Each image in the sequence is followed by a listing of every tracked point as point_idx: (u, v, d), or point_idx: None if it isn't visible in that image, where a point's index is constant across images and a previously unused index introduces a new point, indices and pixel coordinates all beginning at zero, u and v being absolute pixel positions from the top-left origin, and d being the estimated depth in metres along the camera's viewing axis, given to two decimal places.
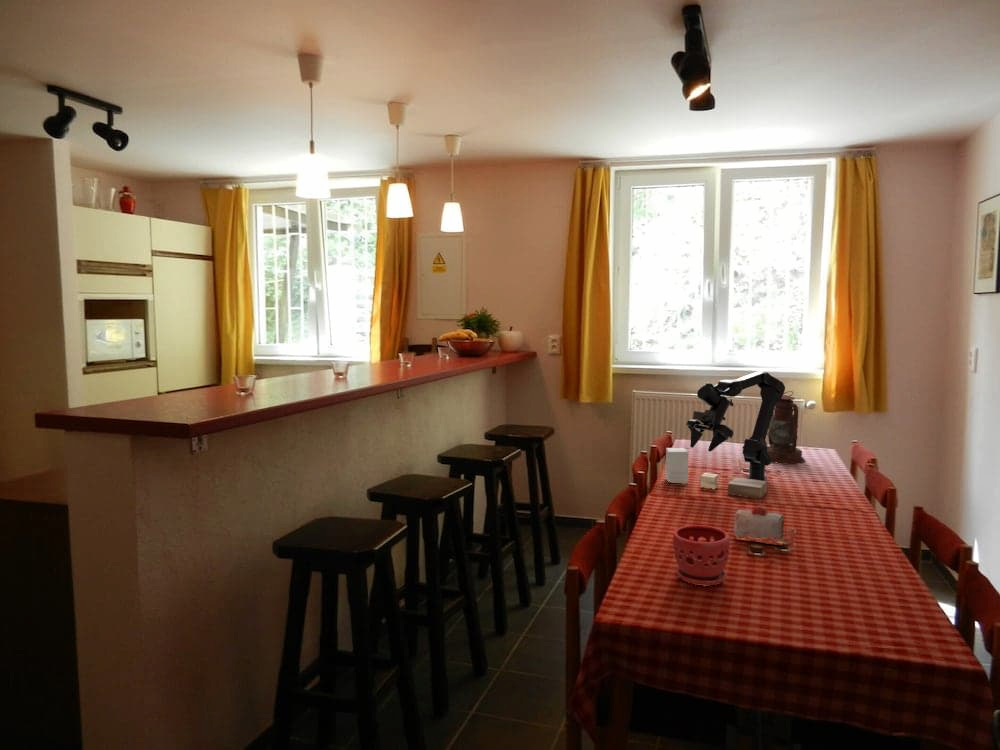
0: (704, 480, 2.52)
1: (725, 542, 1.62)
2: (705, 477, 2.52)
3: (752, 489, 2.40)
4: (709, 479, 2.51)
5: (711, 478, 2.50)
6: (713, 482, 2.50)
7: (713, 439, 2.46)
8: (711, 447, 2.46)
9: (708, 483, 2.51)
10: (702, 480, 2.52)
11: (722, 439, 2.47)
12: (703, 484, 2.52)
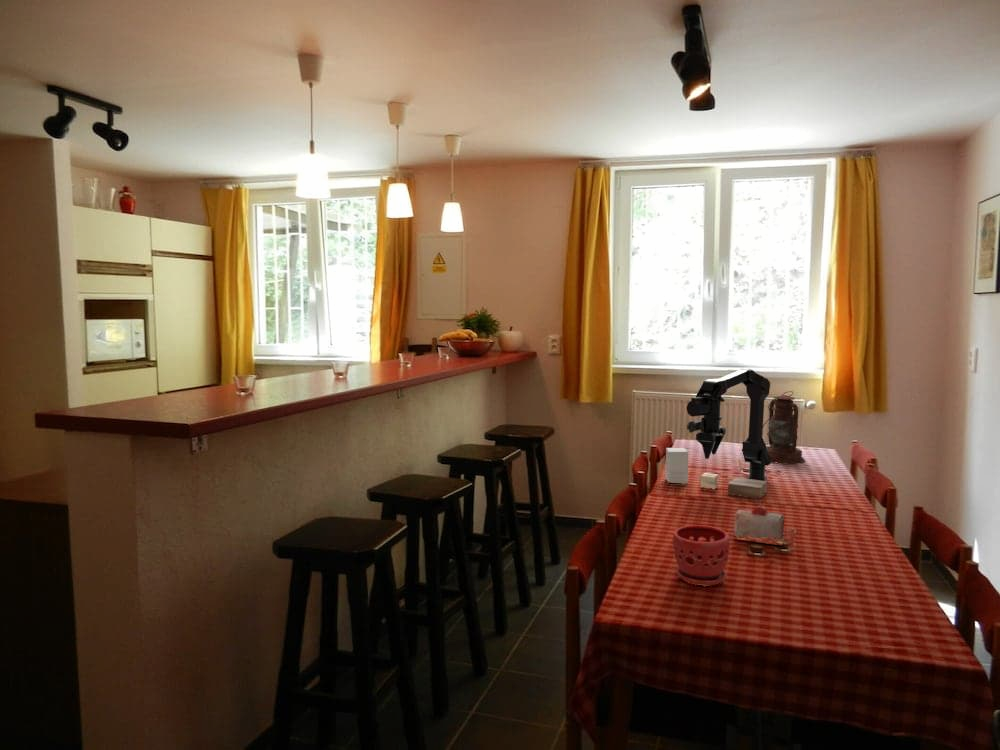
0: (704, 480, 2.52)
1: (725, 542, 1.62)
2: (705, 477, 2.52)
3: (752, 489, 2.40)
4: (709, 479, 2.51)
5: (711, 478, 2.50)
6: (713, 482, 2.50)
7: None
8: (705, 454, 2.48)
9: (708, 483, 2.51)
10: (702, 480, 2.52)
11: (710, 444, 2.46)
12: (703, 484, 2.52)
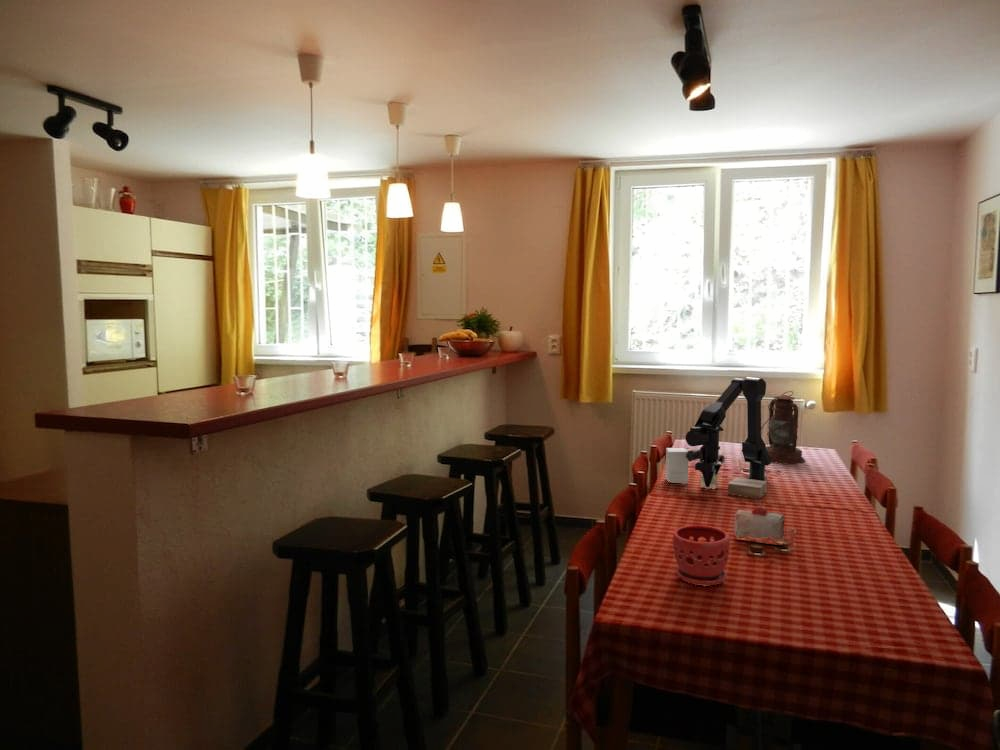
0: None
1: (725, 542, 1.62)
2: None
3: (752, 489, 2.40)
4: None
5: None
6: (713, 482, 2.50)
7: None
8: (706, 483, 2.51)
9: None
10: (702, 480, 2.52)
11: (711, 472, 2.48)
12: (703, 484, 2.52)
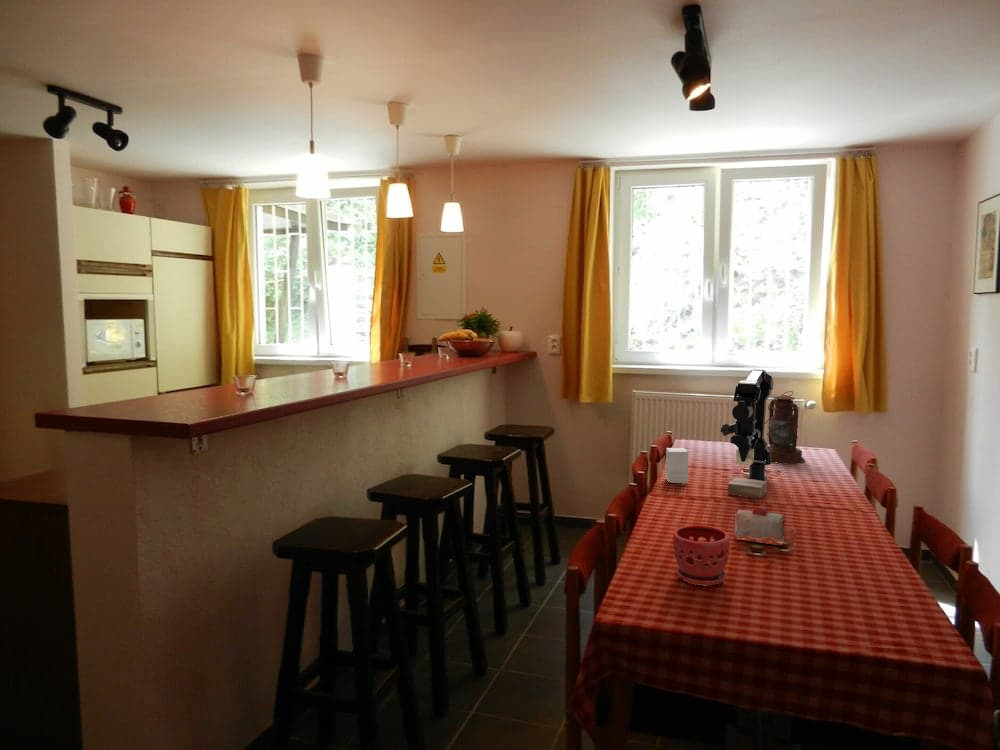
0: None
1: (725, 542, 1.62)
2: None
3: (752, 489, 2.40)
4: None
5: None
6: (749, 456, 2.43)
7: None
8: (741, 457, 2.43)
9: None
10: (737, 454, 2.45)
11: (747, 446, 2.41)
12: (738, 458, 2.45)
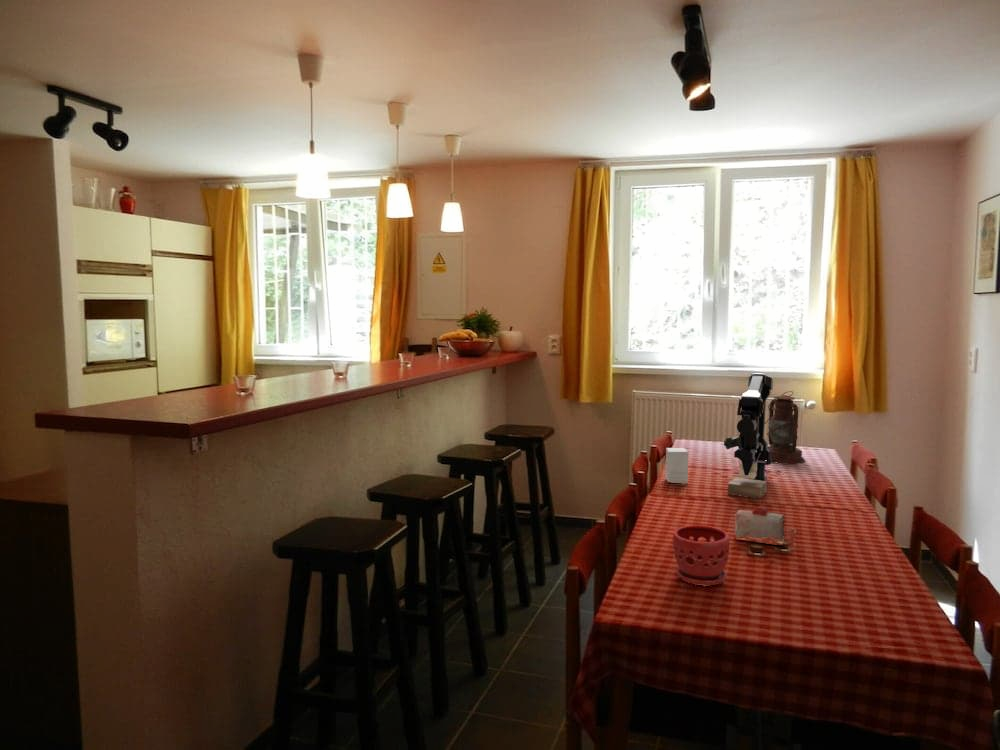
0: None
1: (725, 542, 1.62)
2: None
3: (752, 489, 2.40)
4: None
5: None
6: (752, 470, 2.43)
7: (742, 463, 2.43)
8: (745, 471, 2.43)
9: None
10: (741, 468, 2.45)
11: (750, 460, 2.41)
12: (742, 472, 2.45)
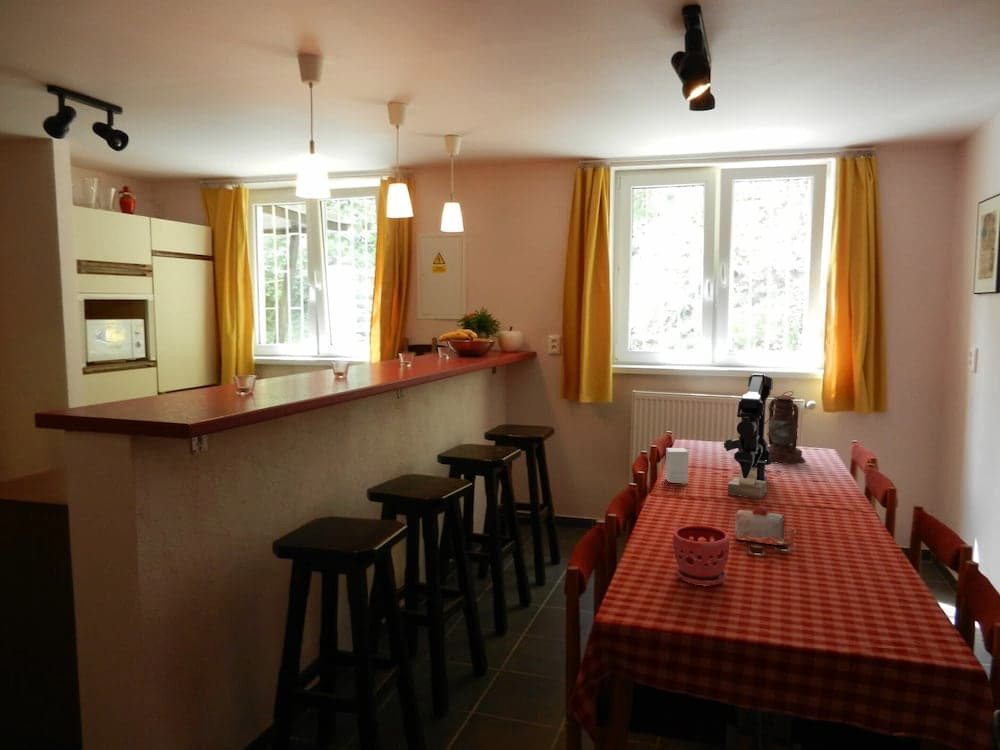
0: None
1: (725, 542, 1.62)
2: None
3: (752, 489, 2.40)
4: None
5: (750, 472, 2.43)
6: (752, 476, 2.43)
7: (741, 466, 2.42)
8: (743, 474, 2.42)
9: (747, 477, 2.44)
10: (740, 474, 2.45)
11: (749, 463, 2.39)
12: (742, 478, 2.45)
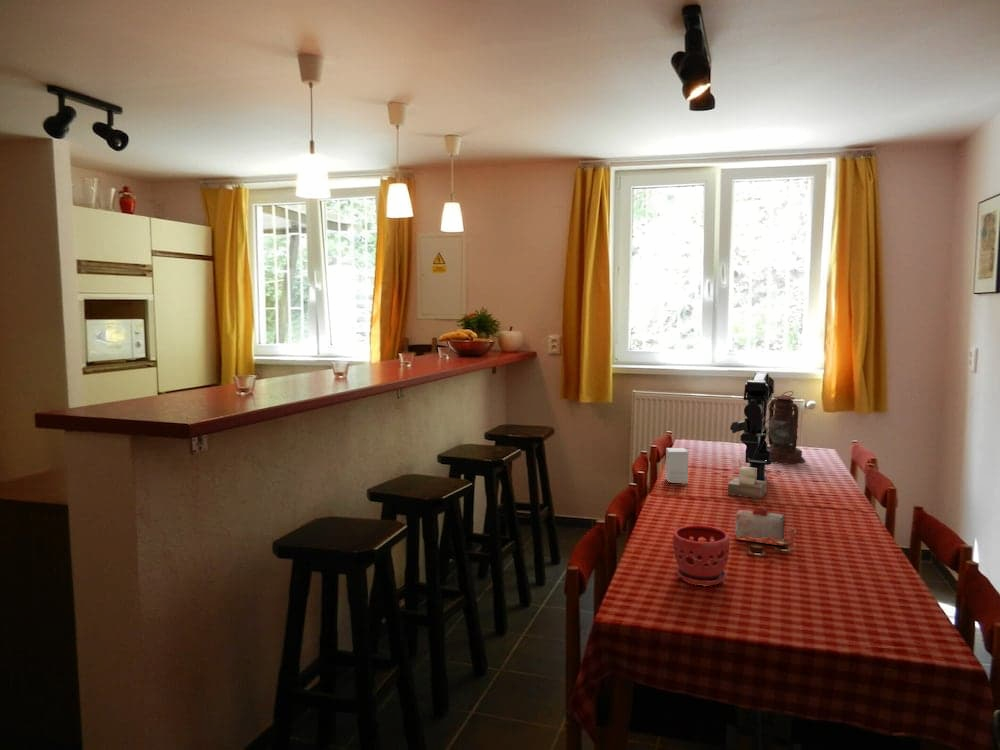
0: (743, 474, 2.44)
1: (725, 542, 1.62)
2: (744, 471, 2.44)
3: (752, 489, 2.40)
4: (748, 473, 2.43)
5: (750, 472, 2.43)
6: (752, 476, 2.43)
7: (747, 447, 2.49)
8: (749, 455, 2.49)
9: (747, 477, 2.44)
10: (740, 474, 2.45)
11: (755, 444, 2.46)
12: (742, 478, 2.45)
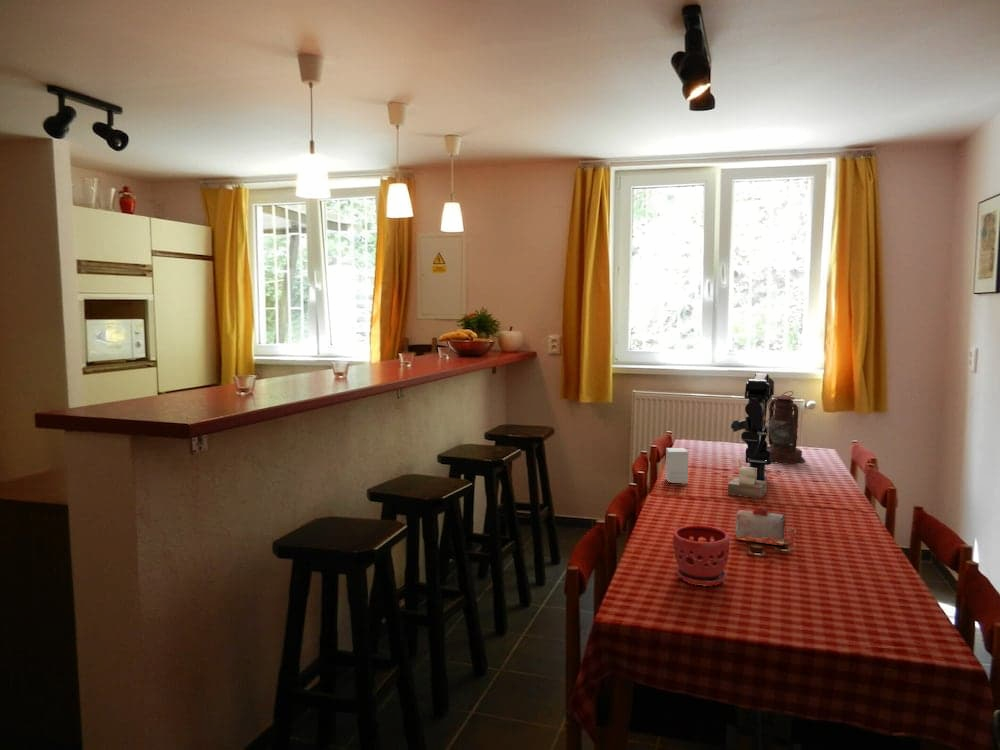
0: (743, 474, 2.44)
1: (725, 542, 1.62)
2: (744, 471, 2.44)
3: (752, 489, 2.40)
4: (748, 473, 2.43)
5: (750, 472, 2.43)
6: (752, 476, 2.43)
7: None
8: (750, 453, 2.50)
9: (747, 477, 2.44)
10: (740, 474, 2.45)
11: (756, 443, 2.47)
12: (742, 478, 2.45)
